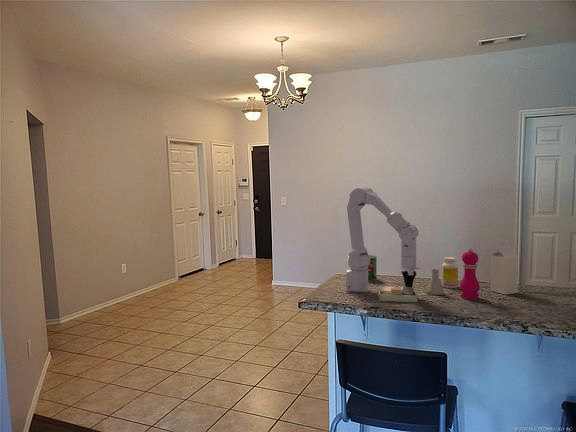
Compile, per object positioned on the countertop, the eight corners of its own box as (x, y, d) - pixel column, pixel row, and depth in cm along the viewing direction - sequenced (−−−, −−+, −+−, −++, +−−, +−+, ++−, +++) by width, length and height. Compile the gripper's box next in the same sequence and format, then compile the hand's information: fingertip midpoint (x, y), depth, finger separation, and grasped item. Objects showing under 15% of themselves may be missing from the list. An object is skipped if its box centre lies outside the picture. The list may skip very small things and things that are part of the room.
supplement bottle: (460, 288, 178) (460, 259, 177) (444, 288, 178) (444, 259, 177) (454, 284, 185) (454, 256, 184) (439, 285, 185) (439, 256, 184)
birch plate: (379, 297, 166) (379, 290, 166) (378, 292, 174) (378, 286, 174) (415, 298, 164) (415, 291, 164) (412, 293, 172) (412, 287, 172)
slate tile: (401, 297, 162) (401, 292, 161) (403, 290, 165) (403, 285, 164) (411, 299, 160) (412, 294, 159) (413, 292, 163) (413, 288, 162)
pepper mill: (481, 300, 159) (482, 249, 157) (461, 299, 160) (462, 248, 159) (477, 295, 166) (477, 246, 164) (457, 295, 167) (458, 246, 166)
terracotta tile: (390, 298, 163) (391, 299, 160) (390, 288, 163) (391, 289, 160) (400, 298, 162) (401, 300, 160) (400, 288, 162) (401, 289, 160)
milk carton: (517, 293, 169) (518, 247, 168) (504, 295, 166) (505, 248, 165) (502, 289, 176) (503, 245, 174) (490, 291, 173) (491, 246, 172)
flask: (447, 295, 167) (447, 271, 167) (429, 295, 168) (429, 271, 167) (440, 291, 175) (441, 267, 174) (423, 291, 175) (423, 267, 174)
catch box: (379, 301, 160) (379, 294, 160) (378, 297, 166) (378, 291, 166) (418, 302, 158) (418, 296, 158) (416, 298, 164) (416, 292, 163)
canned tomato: (361, 280, 196) (361, 257, 195) (358, 277, 204) (358, 255, 203) (378, 280, 195) (377, 257, 195) (375, 277, 203) (375, 255, 203)
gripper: (421, 259, 156) (421, 294, 157) (416, 253, 171) (416, 285, 172) (402, 258, 158) (402, 293, 159) (399, 252, 172) (399, 284, 173)
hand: (408, 289), depth 165 cm, fingers closed
